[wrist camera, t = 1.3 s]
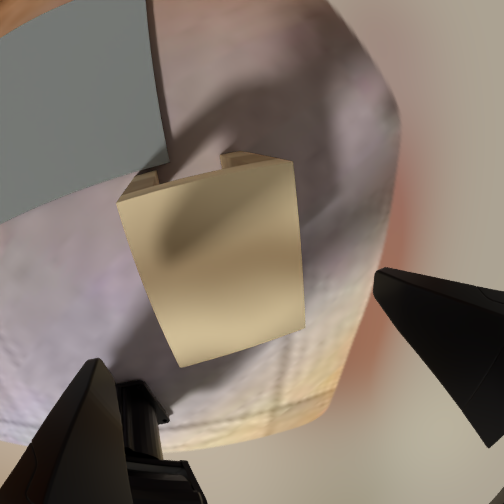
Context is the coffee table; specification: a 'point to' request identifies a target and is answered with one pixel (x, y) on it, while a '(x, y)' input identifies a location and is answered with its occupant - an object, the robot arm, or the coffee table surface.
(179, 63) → the coffee table surface
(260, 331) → the stool
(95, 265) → the coffee table surface
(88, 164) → the felt pad
